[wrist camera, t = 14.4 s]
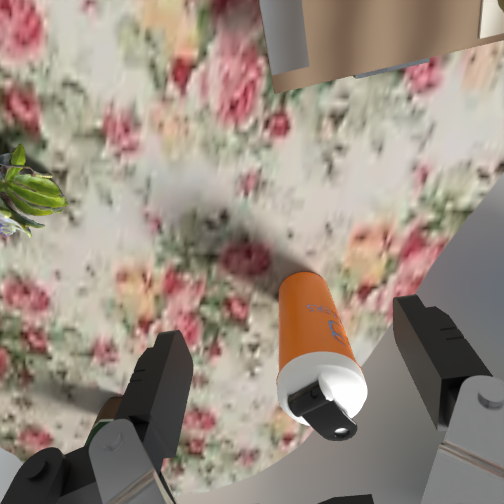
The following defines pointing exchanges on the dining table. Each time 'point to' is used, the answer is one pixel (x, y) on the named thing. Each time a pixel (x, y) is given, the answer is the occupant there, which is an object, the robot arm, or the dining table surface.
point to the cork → (501, 4)
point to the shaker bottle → (316, 360)
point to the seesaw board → (368, 35)
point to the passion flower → (26, 194)
